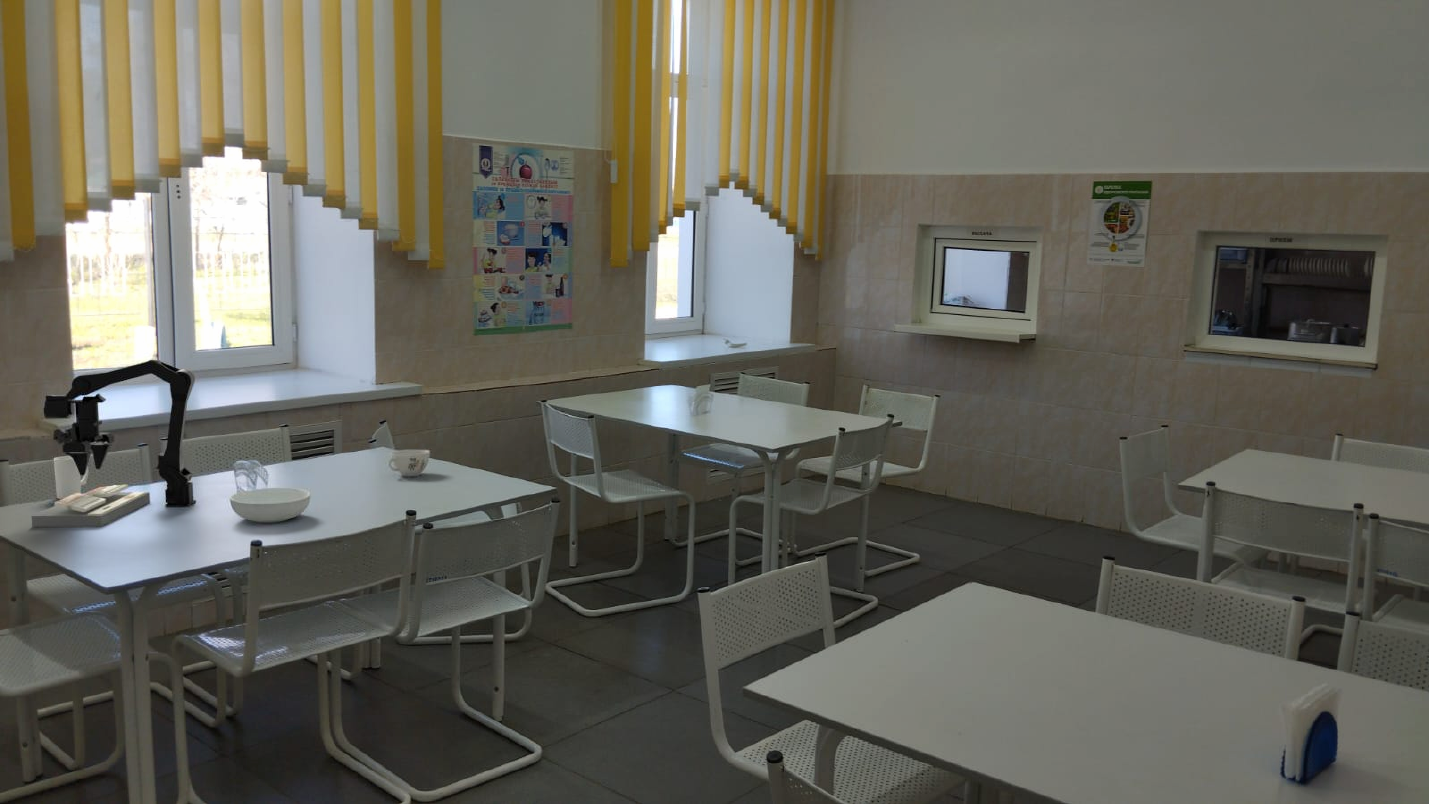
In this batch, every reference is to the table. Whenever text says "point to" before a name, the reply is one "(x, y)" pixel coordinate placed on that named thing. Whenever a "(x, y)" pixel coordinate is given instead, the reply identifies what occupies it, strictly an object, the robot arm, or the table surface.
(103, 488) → the cream slotted panel
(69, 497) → the rocker
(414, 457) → the teacup
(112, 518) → the switch panel
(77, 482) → the mug
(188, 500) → the robot arm
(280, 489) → the serving bowl
